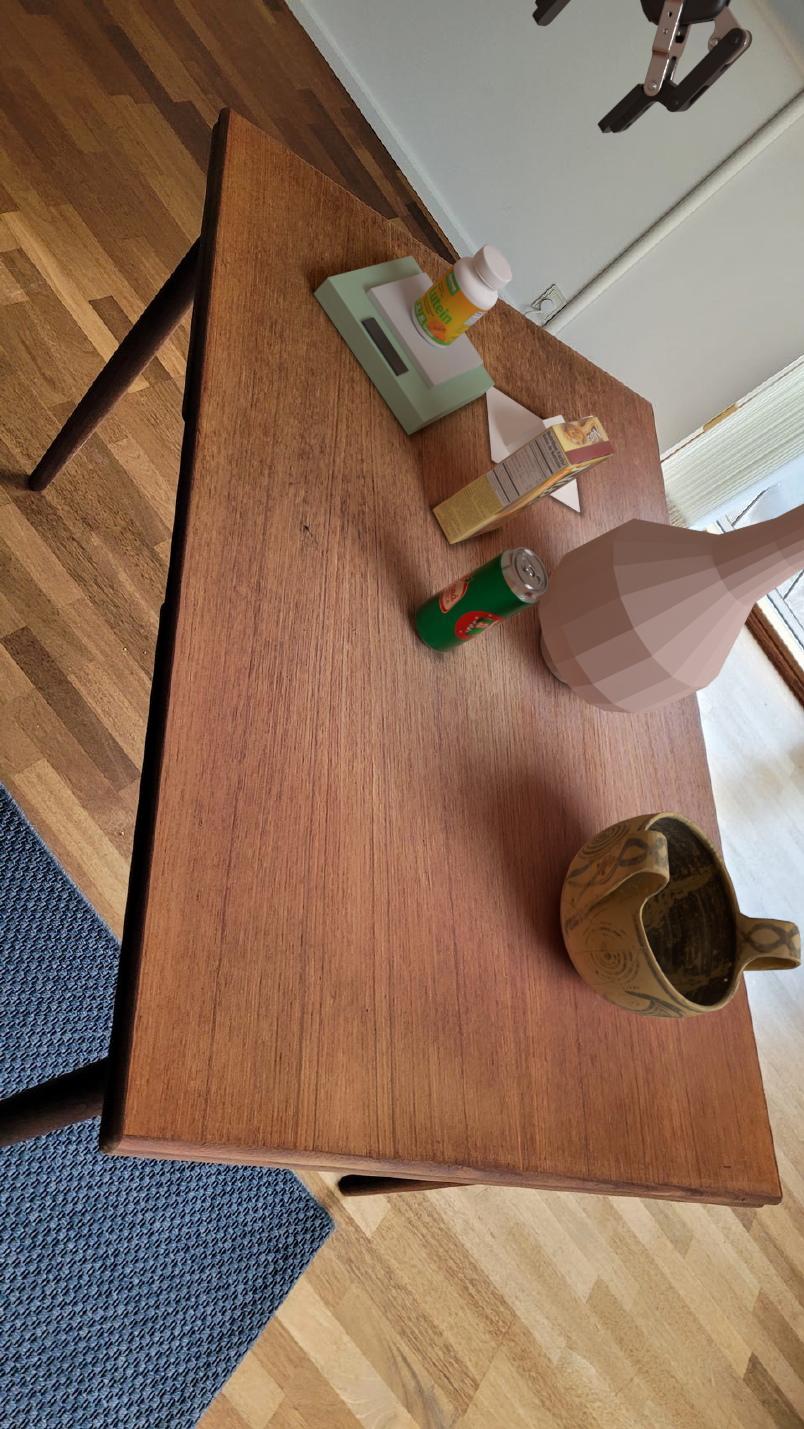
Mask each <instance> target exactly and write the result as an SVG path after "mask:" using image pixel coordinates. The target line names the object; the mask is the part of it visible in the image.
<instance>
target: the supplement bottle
mask: <svg viewBox="0 0 804 1429" xmlns="http://www.w3.org/2000/svg"><path fill="white" fill-rule="evenodd" d="M512 279H513V271H512V268H511V266H510V264H509V262H508V259H507V258H506V257H505V255H504V254H503V253H502V252H501V251H500V250H499V249H498V248H497V247H495V246H494V245H491V244H484V245H483V246H482V247H481V248H480V249H478V250H477V252H476V253H475V254H474V255H473V257H471V256H463V257H461V258H459V259H458V260H457V261H456V262H455V263H453V265H452V266H451V267H449V268H448V269H447V271H445V272H444V273H443V274H442V275H441V276H440V278H438V279H437V280H436V281H435V282H434V283H433V285H432V286H431V287H430V288H429V289H428V290H427V291H426V292H425V293H424V294H423V295H422V296H421V297H420V298H419V299H418V300H417V301H416V302H415V303H414V305H413V306H412V311H411V313H412V319H413V322H414V324H415V326H416V328H417V330H418V331H419V333H420V334H421V335H422V336H423V338H424V339H425V340H426V341H428V342H429V343H430V344H432V345H433V346H435V347H437V348H446V347H448V346H449V345H450V344H451V343H453V342H454V341H455V340H456V339H457V338H458V337H459V336H460V335H462V334H463V333H464V332H465V333H466V331H467V330H469V328H471V327H472V326H473V325H474V324H475V323H477V321H478V320H480V319H481V318H483V316H484V315H486V313H487V312H489V311H490V310H491V309H492V308H493V307H494V306H495V305H496V303H497V301H498V298H499V291H500V290H502V289H504V288H505V286H507V285H508V284H509V283H510V282H511V280H512Z"/></svg>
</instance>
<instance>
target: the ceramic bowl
mask: <svg viewBox="0 0 804 1429" xmlns="http://www.w3.org/2000/svg"><path fill="white" fill-rule="evenodd" d="M559 903H560V904H559V905H560V906H559V920H560V921H559V922H560V928H561V935H562V940H563V942H564V943H563V944H564V946H565V948H566V951H567V954H568V956H569V959H570V961H571V963H572V965H573V967H574V969H575V971H576V972H577V973H578V975H579V976H580V978H581V979H582V980H583V981H584V983H585V984H586V985H587V986H589V987H590V989H591V990H592V991H593V992H595V994H597V995H598V996H599V997H601V998H602V999H604V1000H605V1001H606V1002H607V1003H609V1004H611V1005H612V1006H614V1007H615V1008H618V1009H620V1010H622V1011H625V1012H626V1013H630V1014H632V1015H633V1014H634V1015H636V1016H640V1017H646V1018H651V1019H673V1020H675V1019H676V1020H677V1019H678V1020H680V1019H685V1018H690V1017H696V1016H700V1015H705V1014H707V1013H711V1012H716V1011H719V1010H721V1009H723V1008H724V1007H726V1006H727V1005H728V1004H729V1003H730V1002H731V1000H732V999H733V998H734V997H735V994H736V992H737V991H738V988H739V986H740V983H741V977H742V974H743V972H767V971H788V970H789V971H791V970H795V969H797V968H798V967H800V966H801V965H802V951H801V950H802V948H801V947H802V945H801V944H802V941H801V933H800V929H799V926H798V925H797V924H796V923H795V922H793V921H789V920H782V919H777V918H768V917H767V918H766V917H750V916H749V915H747V914H744V913H743V912H741V909H740V904H739V900H738V897H737V893H736V889H735V885H734V882H733V880H732V878H731V875H730V873H729V870H728V868H727V866H726V863H725V862H724V859H723V857H722V855H721V853H720V851H719V850H718V848H717V847H716V845H715V843H714V842H713V840H712V839H711V838H710V837H709V836H708V835H707V833H706V832H705V830H704V829H703V828H702V827H701V826H700V825H699V824H698V823H697V822H695V821H694V820H693V819H692V818H690V817H689V816H687V815H686V814H683V813H681V812H678V811H673V810H670V811H669V810H667V811H661V812H653V813H646V814H640V815H637V816H633V817H630V818H627V819H623V820H621V821H618V822H615V823H614V824H612V825H610V826H608V827H606V828H604V829H602V830H601V831H599V832H598V833H597V834H595V835H594V836H592V837H591V838H590V839H589V840H587V842H586V843H584V844H583V846H582V847H580V849H579V850H578V851H577V853H576V855H575V856H574V858H573V859H572V860H571V863H570V864H569V867H568V869H567V872H566V875H565V878H564V881H563V885H562V889H561V895H560V901H559Z"/></svg>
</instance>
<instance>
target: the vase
mask: <svg viewBox="0 0 804 1429" xmlns="http://www.w3.org/2000/svg"><path fill="white" fill-rule="evenodd" d="M802 570H804V503H801V504H800V505H798V506H795V507H794V508H792V509H790V510H788V511H785V513H782V514H780V515H778V516H776V517H774V518H770V519H767V520H763V521H760V522H757V523H756V522H755V523H753V524H749V525H747V526H743V527H739V528H736V529H733V530H728V531H726V532H722V533H719V534H718V533H713V532H707V531H703V530H697V529H692V528H687V527H680V526H677V525H676V526H675V525H670V524H665V523H660V522H655V521H650V520H644V519H639V518H631V519H629V520H628V521H625V522H624V523H622V524H620V525H617V526H616V527H614V528H612V529H610V530H608V531H606V532H604V533H602V534H601V535H599V536H596V537H595V538H593V539H591V540H589V541H587V542H585V543H583V544H581V545H580V546H577V547H576V548H573V549H572V550H570V551H568V552H566V553H564V555H563V556H562V558H561V559H560V561H559V562H558V564H557V565H556V566H555V568H554V570H553V571H552V572H551V574H550V576H548V589H547V591H546V592H545V593H544V594H543V595H541V598H540V600H539V607H538V618H539V622H540V623H539V624H540V627H541V635H540V643H539V645H540V649H541V654H542V657H543V659H544V662H545V664H546V666H547V667H548V669H549V670H550V672H551V673H552V674H553V676H554V677H556V678H557V679H558V680H559V681H561V682H562V683H565V684H567V686H568V687H569V688H570V689H571V690H572V691H573V692H574V693H576V695H577V696H578V697H580V698H581V699H582V700H583V701H584V702H585V703H586V704H588V705H590V706H592V707H594V708H597V709H599V710H601V711H603V712H610V713H612V712H613V713H620V714H621V713H622V714H632V715H633V714H649V713H652V712H655V711H657V710H659V709H663V708H664V707H665V706H668V705H670V704H673V703H674V702H677V701H679V700H682V699H684V698H686V697H688V696H689V695H692V694H694V693H696V692H699V691H701V690H703V689H705V688H707V687H709V685H711V684H712V682H714V681H715V680H716V679H717V678H718V676H719V674H720V673H721V671H722V668H723V667H724V665H725V663H726V661H727V659H728V657H729V655H730V653H731V651H732V650H733V646H734V645H735V643H736V641H737V639H738V638H739V636H740V634H741V631H742V629H743V627H744V625H745V623H746V621H747V620H748V617H749V615H750V613H751V612H752V609H753V607H754V606H755V604H756V603H758V602H759V601H760V600H762V599H763V598H764V597H766V596H767V595H769V594H770V593H771V592H772V591H774V590H775V589H777V588H778V587H779V586H781V585H783V584H784V583H785V582H786V581H788V580H789V579H791V578H793V576H795V575H796V574H797V573H799V572H800V571H802Z"/></svg>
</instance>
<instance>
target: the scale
mask: <svg viewBox="0 0 804 1429" xmlns="http://www.w3.org/2000/svg"><path fill="white" fill-rule="evenodd" d="M433 284H434V283H433V280H432V279H431V278H430V276H429V275H428V273H427V272H426V271H424V272H423V270H422V268H421V267H420V266H419V264H418V262H417V261H416V259H415V257H414V256H413V255H407V256H404V257H401V258H397V259H392V260H388V261H385V262H380V263H378V264H374V265H370V266H366V267H361V268H358V269H355V270H351V271H346V272H343V273H339V274H335V275H332V276H328V277H327V278H326V279H325V280H323V282H322V283H321V284H320V285H319V286H318V288H316V290H314V292H313V295H314V297H315V298H316V300H317V301H318V303H319V304H320V306H321V307H322V309H323V310H324V312H325V313H326V314H327V316H328V318H329V319H330V321H331V322H332V323H333V326H334V327H335V328H336V330H337V332H338V333H339V334H340V336H341V337H342V339H343V340H344V342H345V343H346V345H347V346H348V348H349V349H350V350H351V352H352V353H353V355H354V357H355V358H356V360H357V361H358V363H359V364H360V365H361V367H362V369H363V371H365V373H366V374H367V377H368V378H369V380H371V382H372V384H374V386H375V388H376V389H377V391H378V393H379V394H380V396H381V397H382V399H383V400H384V401H385V403H386V405H387V406H388V408H389V409H390V410H391V412H392V413H393V415H394V416H395V418H396V419H397V421H398V422H399V424H400V425H401V427H402V428H403V429H404V431H405V433H406V434H407V436H410V435H412V434H414V433H415V432H417V431H419V430H421V429H424V428H425V427H427V426H429V425H431V424H432V423H434V422H436V421H437V420H440V419H441V418H443V417H445V416H448V415H449V414H451V413H452V412H455V411H456V410H459V409H461V408H462V407H464V406H466V405H467V404H470V403H471V402H473V401H475V400H476V399H478V398H481V397H482V396H483V395H484V394H485V393H486V391H488V390H489V389H490V388H491V387H492V386H493V387H495V385H496V383H495V382H494V380H493V379H492V377H491V376H490V374H489V373H488V371H487V369H486V368H485V366H484V364H483V363H484V360H483V358H482V357H481V356H480V354H479V353H478V351H477V349H476V347H475V346H474V345H473V343H472V342H471V340H470V339H469V337H468V335H467V334H466V331H465V332H464V333H463V334H462V335H460V336H459V337H458V338H457V339H456V340H455V341H454V342H453V343H451V344H450V345H449V346H448V347H446V348H437V347H435V346H433V345H432V344H430V343H429V342H428V341H426V340H425V339H424V338H423V336H422V335H421V334H420V333H419V331H418V330H417V328H416V326H415V324H414V322H413V319H412V313H411V311H412V306H413V305H414V303H415V302H416V301H417V300H418V299H419V298H420V297H421V296H422V295H423V294H424V293H425V292H426V291H427V290H428V289H429V288H430V287H431V286H432V285H433Z"/></svg>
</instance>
